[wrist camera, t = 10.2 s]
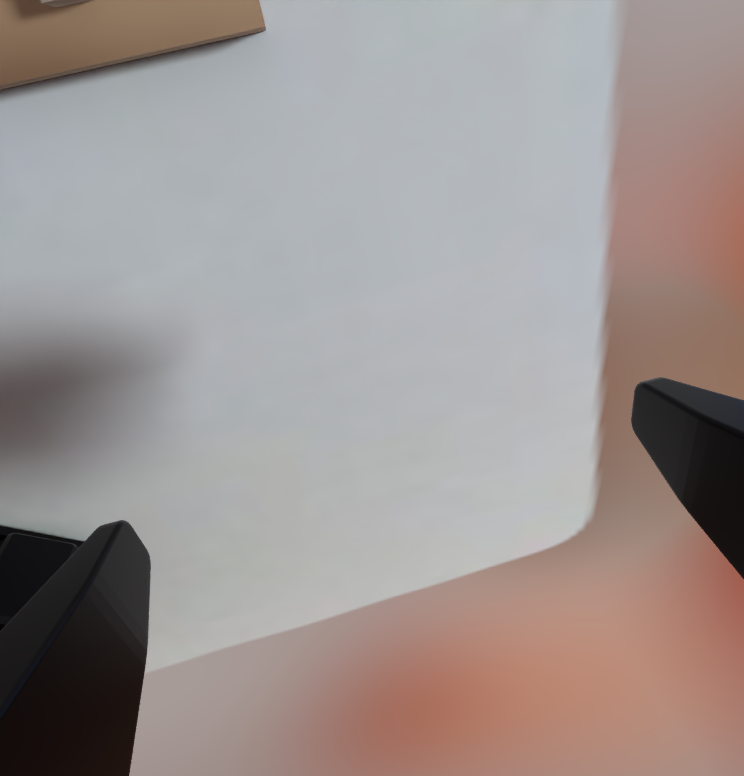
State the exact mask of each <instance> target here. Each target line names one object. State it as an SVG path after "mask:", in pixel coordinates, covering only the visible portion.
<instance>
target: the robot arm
mask: <svg viewBox="0 0 744 776" xmlns="http://www.w3.org/2000/svg"><path fill="white" fill-rule="evenodd" d="M631 422H632V427H633V430H634V432H635V434H636V436H637V437H638V439H639V440H640V442H641V443H642V445H643V446H644V448H645V449H646V451H647V452H648V454H649V455H650V457H651V458H652V460H653V461H654V463H655V465H656V466H657V468H658V469H659V470H660V472H661V474H662V475H663V477H664V478H665V480H666V481H667V483H668V484H669V486H670V487H671V489H672V490H673V492H674V493H675V495H676V496H677V498H678V499H679V500H680V501H681V503H682V504H683V505H684V507H685V508H686V509H687V511H688V512H689V513H690V514H691V516H692V517H693V518H694V519H695V521H696V522H697V523H698V524H699V526H700V527H701V528H702V529H703V530H704V532H705V533H706V534H707V535H708V536H709V538H710V539H711V540H712V541H713V542H714V544H715V545H716V546H717V547H718V549H719V550H720V551H721V552H722V554H723V555H724V556H725V557H726V558H727V560H728V561H729V562H730V563H731V564H732V565H733V567H734V568H735V569H736V571H737V572H738V573H739V574H740V575H741V577H742V578H743V579H744V400H740V399H737V398H733V397H730V396H726V395H723V394H719V393H715V392H712V391H709V390H705V389H701V388H698V387H695V386H691V385H687V384H684V383H681V382H677V381H674V380H670V379H666V378H661V377H660V378H655V379H651V380H647V381H643V382H640V383H639V384H637V386H636V388H635V391H634V401H633V408H632V418H631ZM150 569H151V562H150V556H149V553H148V551H147V549H146V547H145V546H144V544H143V543H142V541H141V540H140V538H139V537H138V535H137V534H136V532H135V531H134V529H133V528H132V526H131V525H130V524H129V523H128V522H127V521H124V520H120V521H116V522H112V523H109V524H105V525H102V526H100V527H98V528H97V529H96V530H95V531H94V532H93V533H92V534H91V535H90V536H89V537H88V539H87V540H86V541H85V542H84V543H83V542H78V541H73V540H67V539H62V538H57V537H52V536H46V535H41V534H36V533H31V532H25V531H20V530H15V529H10V528H5V527H0V776H129V773H130V765H131V759H132V753H133V746H134V739H135V732H136V726H137V719H138V711H139V705H140V698H141V691H142V685H143V678H144V672H145V665H146V657H147V646H148V626H149V598H150Z"/></svg>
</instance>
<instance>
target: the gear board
mask: <svg viewBox="0 0 744 776" xmlns="http://www.w3.org/2000/svg"><path fill="white" fill-rule="evenodd" d="M261 31H265V23H264V19H263V15H262V11H261V7H260V3H259V0H0V90H1V89H5V88H10V87H14V86H19V85H23V84H28V83H32V82H37V81H41V80H46V79H50V78H55V77H59V76H64V75H68V74H72V73H77V72H81V71H86V70H90V69H95V68H99V67H104V66H108V65H113V64H117V63H122V62H126V61H131V60H135V59H140V58H144V57H149V56H153V55H158V54H162V53H167V52H171V51H176V50H180V49H185V48H189V47H194V46H198V45H203V44H207V43H212V42H216V41H221V40H225V39H230V38H234V37H239V36H243V35H248V34H252V33H257V32H261Z"/></svg>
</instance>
